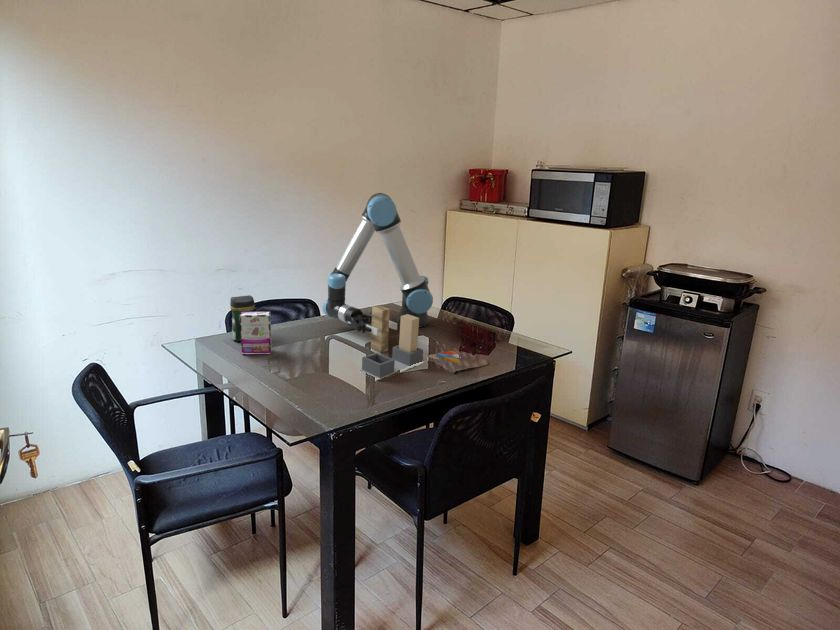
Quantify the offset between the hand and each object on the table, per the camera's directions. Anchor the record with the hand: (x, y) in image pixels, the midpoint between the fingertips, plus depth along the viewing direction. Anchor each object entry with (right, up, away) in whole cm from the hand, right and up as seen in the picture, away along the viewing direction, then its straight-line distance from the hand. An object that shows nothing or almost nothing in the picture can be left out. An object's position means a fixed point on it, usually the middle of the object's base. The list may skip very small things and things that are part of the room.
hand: (387, 329), depth 224 cm
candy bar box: (-51, -9, -5) cm, 52 cm away
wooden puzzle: (+28, -14, -1) cm, 31 cm away
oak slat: (-4, -8, +6) cm, 11 cm away
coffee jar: (-60, -4, +7) cm, 61 cm away
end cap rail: (+3, -15, -11) cm, 19 cm away
